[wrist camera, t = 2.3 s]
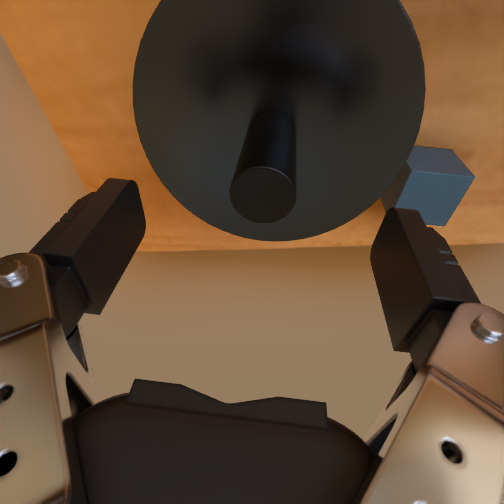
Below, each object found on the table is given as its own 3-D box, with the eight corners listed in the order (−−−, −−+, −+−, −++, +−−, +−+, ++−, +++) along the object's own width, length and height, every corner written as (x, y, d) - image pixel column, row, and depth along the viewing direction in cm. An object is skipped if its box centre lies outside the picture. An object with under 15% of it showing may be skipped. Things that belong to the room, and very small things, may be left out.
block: (452, 149, 24) (476, 176, 21) (427, 196, 27) (445, 226, 24) (396, 143, 24) (411, 170, 21) (377, 191, 27) (388, 220, 24)
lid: (446, -119, 10) (591, -203, 5) (400, 218, 19) (437, 306, 14) (86, -8, 13) (-42, 7, 8) (193, 238, 22) (163, 317, 17)
